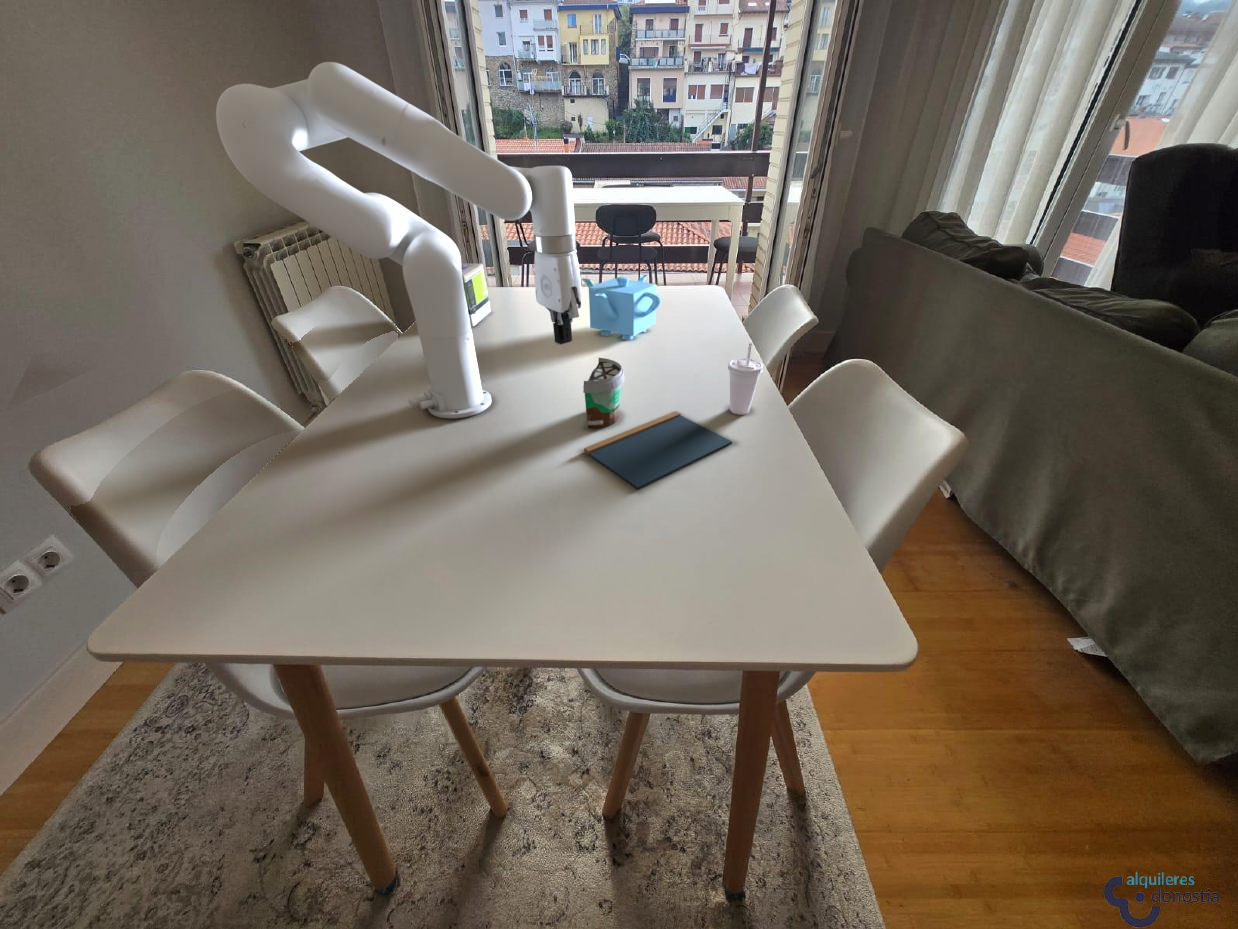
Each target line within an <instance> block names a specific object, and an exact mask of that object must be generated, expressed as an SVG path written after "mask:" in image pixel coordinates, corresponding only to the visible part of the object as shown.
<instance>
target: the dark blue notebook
mask: <svg viewBox="0 0 1238 929" xmlns="http://www.w3.org/2000/svg"><path fill="white" fill-rule="evenodd" d="M732 444H733V441H732V440H730V439H728V438H726V437H724V436H722V435H720V434H718V433H717V432H714V431H712V430H710V429H709V428H706V426H705V427H704V426H703V425H700V424H699V423H697V422H695V421H693V420H691V419H689V418H687V417H685V416H683V415H682V414H681V412H679V411H677V410H675V411H672V412H670V413H668V414H665V415H662V416H660V417H658V418H655V419H652V420H650V421H647V422H646V423H643V424H640V425H638V426H635V427H633V428H630V429H628V430H625V431H623V432H620V433H618V434H616V435H613V436H610V437H607V438H606V439H603V440H601V441H598V442H596V443H593V444H591V445H588V446H585V447H584V448H583V452H584V453H585V454H586V455H588V456H589V457H591V458H592V459H593V460H595V461H596V462H597V463H599V464H600V465H602V466H604V467H605V468H606V469H608V470H609V471H610V472H612V473H614V475H616V476H618V477H619V478H620V479H622V480H624V481H625V482H626V483H628V484H629V485H630V486H632V487H633V488H635V489H636V490H639V489H640V490H641V489H642V488H644V487H646V486H647V485H649V484H652V483H655V482H656V481H658V480H660V479H662V478H664V477H666V476H668V475H670V474H672V473H675V472H676V471H679V470H681V469H682V468H684V467H685V468H686V467H687V466H689V465H691V464H692V463H695V462H697V461H700V460H701V459H703V458H705V457H706V456H709V455H712V454H713V453H715V452H717V451H720V450H721V449H724V448H726V447H727V446H729V445H732Z"/></svg>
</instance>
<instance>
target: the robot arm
mask: <svg viewBox="0 0 1238 929" xmlns="http://www.w3.org/2000/svg"><path fill="white" fill-rule="evenodd" d="M215 120H216V126H217V130H218V135H219V138H220V140H221V143H222V146H223V149H224V150H225V152H226V154H227V155H228V157H229V159H230V161H231V162H232V163H233V165H234V167H235V168H236V169H237V171H239V173H240V174H241V175H242V176H243V177H244V178H245V180H246V181H247V182H249V183H250V184H251V186H253V187H254V188H255V189H256V190H258V191H259V192H260V193H261V194H263V195H264V196H266V197H267V198H268V199H270V200H272V201H273V202H274V203H276V204H278V205H279V206H281V207H283V208H284V209H286V210H288V211H289V212H291V213H292V214H294V215H296V216H298V217H299V218H301V219H303V220H304V221H306V222H308V223H309V224H310V225H312V226H313V227H315V228H317V229H318V230H320V231H322V232H323V233H325V234H327V235H328V236H330V237H331V238H333V239H335V240H337V241H339V242H340V243H342V244H343V245H345V246H347V247H348V248H349V249H350V250H351V249H352V250H353V251H355V252H356V253H358V254H359V255H361V256H364V257H365V258H369V259H372V260H381V259H385V258H389V259H390V260H392V261H394V262H395V263H397V264H399V265H400V266H402V276H403V281H404V285H405V289H406V292H407V294H408V298H409V301H410V304H411V308H412V312H413V315H414V320H415V324H416V328H417V332H418V336H419V339H420V340H419V341H420V345H421V349H422V353H423V357H424V361H425V366H426V370H427V375H428V379H429V383H430V385H428V386H426V390H427V391H425V392H423V394H421V395H416V396H412V397H408V398H407V400H408V404H409V406H410V408H411V409H412V408H417V407H420V409H421V410H425V409H428V412H429V414H431V415H433V416H434V417H438V418H441V419H451V420H452V419H463V418H468V417H472V416H475V415H477V414H480V413H482V412H485V410H487V409H488V408H489V407H490V406H491V405H492V395H491V393H489V391H488V390H485V389H483V387H482V382H481V376H480V371H479V364H478V359H477V353H476V348H475V342H474V337H473V336H474V335H473V330H472V327H471V325H470V319H469V313H468V308H467V302H466V297H465V291H464V286H463V278H462V271H461V264H462V256H461V253H460V252H461V251H460V250H459V248H458V245H457V244H456V243H455V242H454V240H453V239H452V238H451V237H449V236H448V235H447V234H445V233H444V232H443V231H441V230H440V229H438V228H437V227H435V226H434V225H432V224H430V223H429V222H428V221H426V220H425V219H423V218H422V217H420V216H418V215H417V214H416V213H414V212H412V211H411V210H410V209H408V208H407V207H405V206H404V205H402V204H401V203H399V202H398V201H396V200H394V199H392V198H391V197H389V196H386V195H384V194H381V193H378V192H362V191H360V190H359V189H357V188H356V187H353V186H352V185H351V184H349V183H347V182H346V181H344V180H342V179H341V178H339V177H338V176H337V175H335V174H334V173H332V172H331V171H330V170H328V169H327V168H325V167H324V166H321V165H319V164H318V163H316V162H314V161H312V160H311V159H309V157H308V158H307V157H306V156H305V155H304V154H302V153H301V152H302V151H305V150H309V149H312V148H316V147H319V146H323V145H328V144H330V143H333V142H337V141H340V140H344V139H347V138H348V139H351V140H353V141H354V142H357V143H359V144H360V145H362V146H364V147H365V148H368V149H370V150H372V151H374V152H375V153H377V154H380V155H382V156H384V157H385V158H387V159H389V160H391V161H392V162H394V163H396V164H398V165H399V166H402V167H403V168H405V169H406V170H409V171H410V172H413V173H414V174H416V175H417V176H419V177H421V178H422V179H425V180H426V181H429V182H431V183H434V184H435V185H437V186H439V187H441V188H443V189H444V190H446V191H448V192H450V193H452V194H453V195H455V196H456V197H459V198H461V199H463V200H464V201H466V202H468V203H470V204H471V205H473V206H475V207H477V208H479V209H480V210H483V211H484V212H486V213H488V214H491V215H493V216H494V217H496V218H498V219H500V220H504V221H518V220H519V219H521V218H523V217H525V215H526V214H528V212H530V213H531V222H532V232H533V241H534V250H535V251H534V258H533V260H534V261H533V272H534V291H535V300H536V302H537V303H538V305H540V306H542V307H544V308H545V309H546V310H547V311H548V312H549V315H550V319H551V322H552V328H553V338H554V343H556V344H557V345H564V344H567V343H571V342H573V331H572V323H573V322H574V320H573V319H577V318H579V317H580V312H579V309H581V308H582V306H583V288H582V278H581V271H580V265H579V260H578V255H577V252H578V251H577V236H576V235H577V234H576V220H575V205H574V204H575V203H574V187H573V175H572V172H571V170H570V169H569V168H568V167H566V166H564V165H563V166H562V165H541V166H539V165H538V166H534V167H518V166H510V165H507V164H506V163H504V162H502V161H500V160H499V159H497V158H495V157H494V156H492V155H490V154H488V153H487V152H485V151H483V150H481V149H480V148H478V147H477V146H475V145H473V144H471V143H470V142H468V141H467V140H465V139H464V138H462V137H461V136H459V135H457V134H456V133H455V132H453V131H452V130H450V129H449V128H448V127H446V125H445V124H443V123H442V122H441V121H439V120H438V119H436V118H435V117H433V116H432V115H430V114H429V113H427V112H425V111H423V110H421V109H420V108H418V107H416V106H415V105H413V104H411V103H410V102H407V101H406V100H404V99H402V98H401V97H399V96H398V95H396V94H394V93H392V92H390V91H389V90H387V89H385V88H384V87H382V86H381V85H379V84H377V83H375V82H374V81H372V80H370V79H369V78H367V77H365V76H364V75H362V74H360V73H358V72H357V71H355V70H353V69H351V68H350V67H348V66H347V65H344V64H342V63H339V62H335V61H324V62H321V63H319V64H317V65H316V66H315V67H313V69H312V70H311V72H310V73H309V75H308V77H307V78H306V79H303V80H298V81H295V82H291V83H287V84H283V85H279V86H276V87H268V86H267V87H266V86H262V85H257V84H253V83H239V84H234V85H233V86H230V87H228V88H226V89H225V90H224V91H223V92H222V93H221V95H220V96H219V97H218V100H217V103H216V108H215Z"/></svg>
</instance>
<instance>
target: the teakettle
mask: <svg viewBox="0 0 1238 929" xmlns="http://www.w3.org/2000/svg"><path fill="white" fill-rule="evenodd" d="M647 277H648V274H644V275H640V276H639V277H638V279H637V281H636V280H630V278H629V277H628V276H618V277H616V278H615V277H613V278H611V279H608V280H605V281H602V282H600V283H597V284H595V283H594V281H593V280H592V279H589V278H581V281H582V282H584V283H585V284H586V286H587V289H588V302H589V306H588V307H589V325H590V326H589V327H590V328H591V329H595V330H600V333H599V335H601V336H604V337H605V336H610V335H611V334H612V333H616V334H620V335H621V338H622V340H624V341H631V340H633V339H634V337H635V336H636V335H638V334H640V333H645V332H647V329H649V328H651V327H653V326H655V325H656V323H657V310H658V308H659V306H661V302H662V299H661V297H660V296H659V295H658V294H657V291H658V290H657V289H658V288H657V286H658V285H657V284H656V283H650V282H645V281H646V279H647Z"/></svg>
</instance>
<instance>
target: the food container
mask: <svg viewBox="0 0 1238 929" xmlns="http://www.w3.org/2000/svg"><path fill="white" fill-rule="evenodd" d="M625 380H626V377H625V373H624V369H623V367H622V365H621V364H620V363H619V362H617V361H615V360H612V359H610V358H606V357H598V362H597V366H596V367H595V368H594V369H593V370H592V371H591V373H590V375H589V378H588V379H587V380H583V386H582V387H583V389H582V390H583V393H584V402H585V414H586V427H587V429H602V428H607V427H610V426H612V425H615V424H616V423H617V422H618V420H619V418H620V406H621V394H622V393H621V392H622V385H623V384H624V382H625Z"/></svg>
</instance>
